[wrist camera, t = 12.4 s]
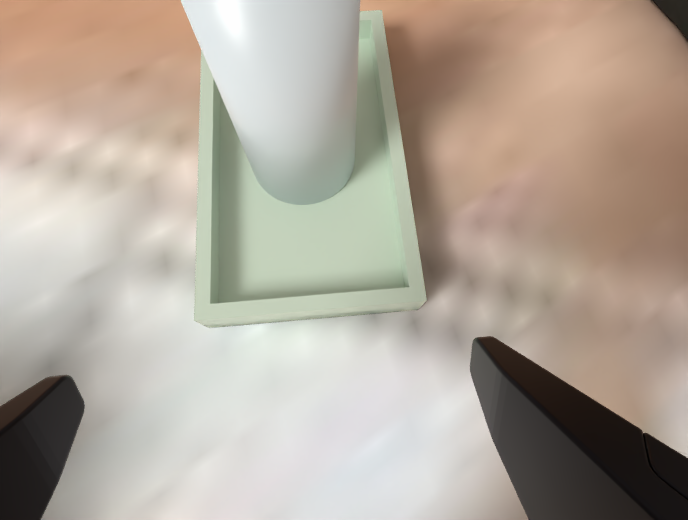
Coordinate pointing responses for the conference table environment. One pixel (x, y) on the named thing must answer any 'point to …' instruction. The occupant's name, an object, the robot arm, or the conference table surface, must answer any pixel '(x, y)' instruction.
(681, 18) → the network switch
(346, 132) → the white rounded capsule
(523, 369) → the robot arm
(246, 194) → the tray
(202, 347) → the conference table surface
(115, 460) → the conference table surface
